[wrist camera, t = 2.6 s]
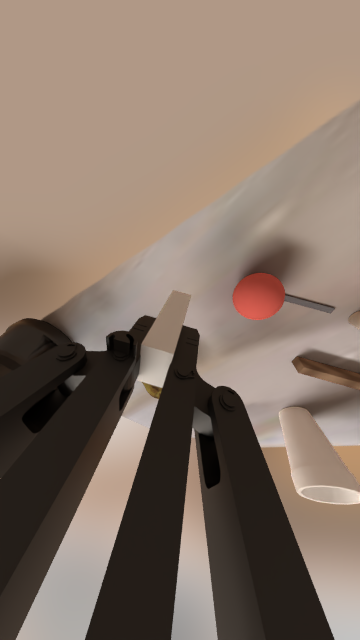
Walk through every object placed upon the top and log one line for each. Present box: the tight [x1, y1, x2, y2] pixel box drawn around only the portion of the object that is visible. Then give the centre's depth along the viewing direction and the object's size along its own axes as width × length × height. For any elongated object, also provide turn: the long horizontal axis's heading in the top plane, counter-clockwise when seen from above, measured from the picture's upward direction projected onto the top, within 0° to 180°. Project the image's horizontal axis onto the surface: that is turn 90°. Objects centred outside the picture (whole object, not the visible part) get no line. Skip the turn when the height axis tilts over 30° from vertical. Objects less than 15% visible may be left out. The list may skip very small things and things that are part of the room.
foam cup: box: [279, 407, 360, 504], centre depth 31 cm, size 10×9×13 cm
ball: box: [233, 273, 285, 320], centre depth 20 cm, size 6×6×6 cm
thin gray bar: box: [284, 295, 335, 313], centre depth 22 cm, size 8×1×1 cm, turn 77°
